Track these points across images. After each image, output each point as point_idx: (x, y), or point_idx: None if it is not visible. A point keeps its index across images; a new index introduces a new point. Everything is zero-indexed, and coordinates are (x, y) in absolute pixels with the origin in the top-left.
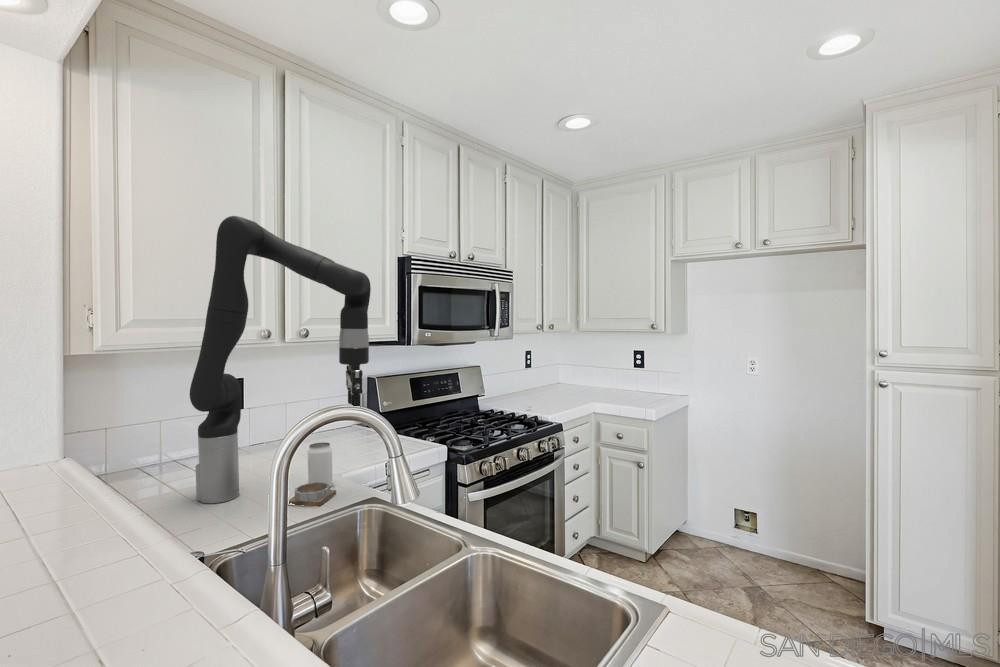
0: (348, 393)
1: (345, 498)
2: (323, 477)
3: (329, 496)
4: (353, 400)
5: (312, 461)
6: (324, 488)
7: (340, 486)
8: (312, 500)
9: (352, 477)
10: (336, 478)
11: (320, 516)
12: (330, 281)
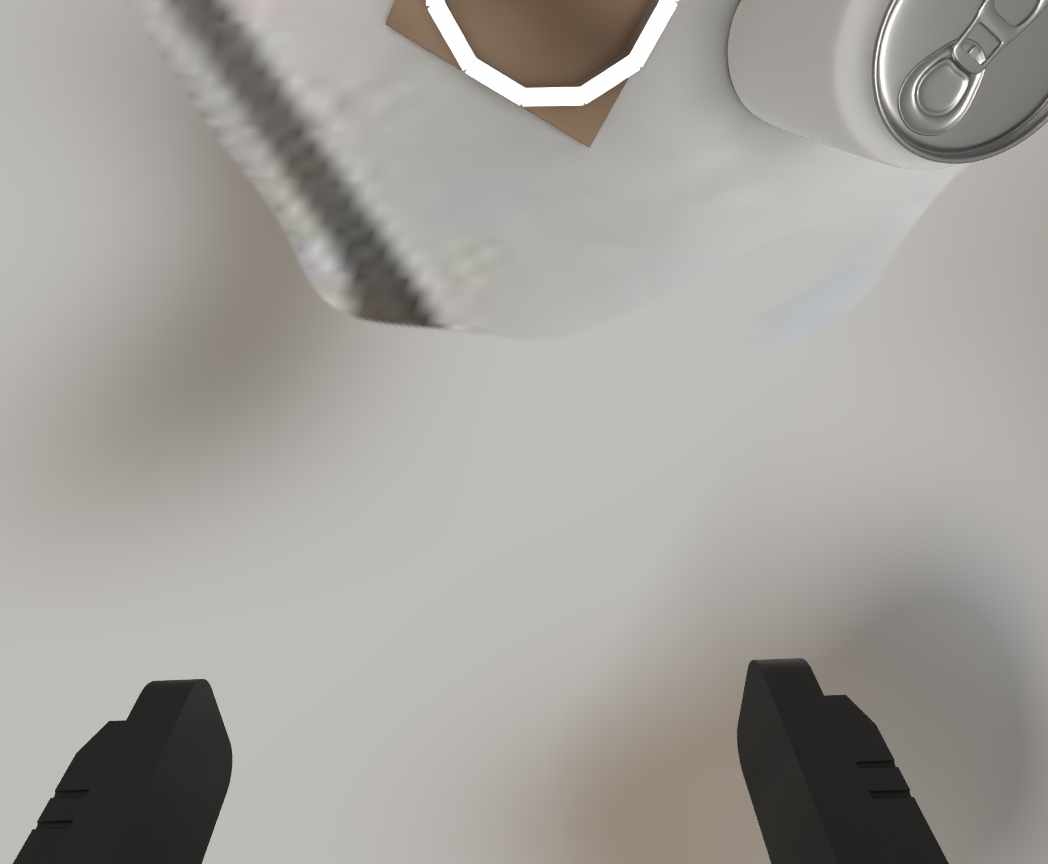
0: (830, 850)
1: (486, 198)
2: (750, 64)
3: None
4: (29, 858)
5: None
6: (605, 66)
7: (731, 180)
8: None
9: (870, 267)
10: None
11: (216, 23)
12: None
